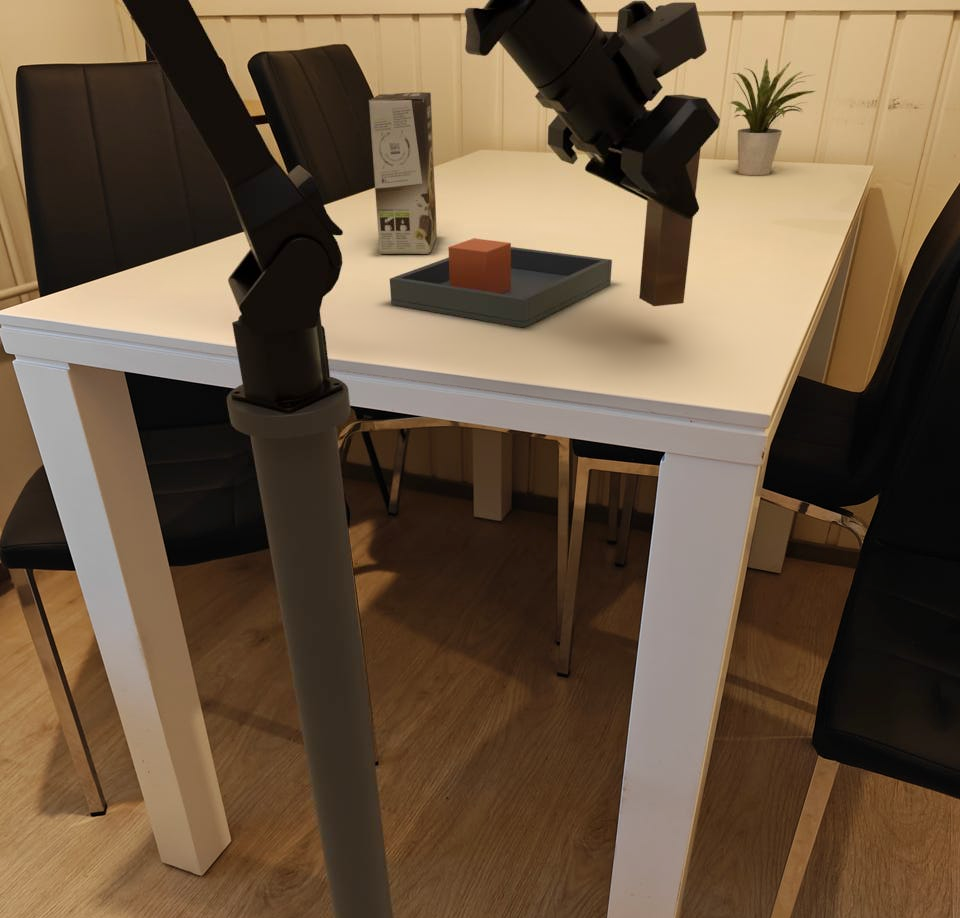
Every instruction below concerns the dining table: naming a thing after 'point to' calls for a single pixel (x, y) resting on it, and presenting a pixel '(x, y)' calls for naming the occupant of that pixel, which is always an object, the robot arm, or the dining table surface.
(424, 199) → the coffee box
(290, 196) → the robot arm
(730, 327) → the dining table surface
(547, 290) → the tray
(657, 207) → the tall brown rectangular pillar
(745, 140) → the house plant
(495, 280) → the block
